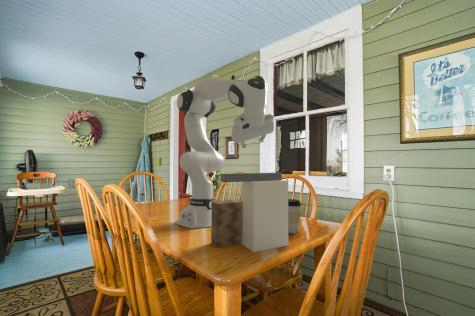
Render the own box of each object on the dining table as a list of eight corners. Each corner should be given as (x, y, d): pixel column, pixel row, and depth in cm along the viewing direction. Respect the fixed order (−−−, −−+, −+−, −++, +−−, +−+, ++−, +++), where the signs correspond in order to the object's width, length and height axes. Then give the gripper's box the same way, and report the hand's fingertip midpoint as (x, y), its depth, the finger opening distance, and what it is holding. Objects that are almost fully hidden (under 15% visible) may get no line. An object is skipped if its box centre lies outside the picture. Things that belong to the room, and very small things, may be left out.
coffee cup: (302, 235, 110) (302, 202, 110) (281, 233, 111) (281, 201, 112) (300, 229, 119) (300, 199, 119) (281, 228, 121) (281, 198, 121)
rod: (223, 182, 87) (223, 174, 87) (220, 181, 89) (220, 173, 89) (281, 180, 98) (281, 172, 98) (277, 179, 101) (277, 172, 101)
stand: (253, 252, 88) (253, 181, 89) (242, 244, 96) (242, 180, 97) (288, 245, 96) (288, 180, 96) (275, 239, 104) (275, 179, 104)
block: (216, 247, 93) (216, 203, 93) (211, 243, 98) (211, 201, 99) (248, 242, 99) (248, 201, 100) (241, 238, 105) (241, 199, 105)
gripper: (270, 109, 107) (267, 135, 116) (229, 120, 100) (230, 146, 109) (278, 116, 103) (274, 142, 112) (236, 127, 96) (236, 154, 104)
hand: (252, 144), depth 110 cm, fingers open, 8 cm apart
